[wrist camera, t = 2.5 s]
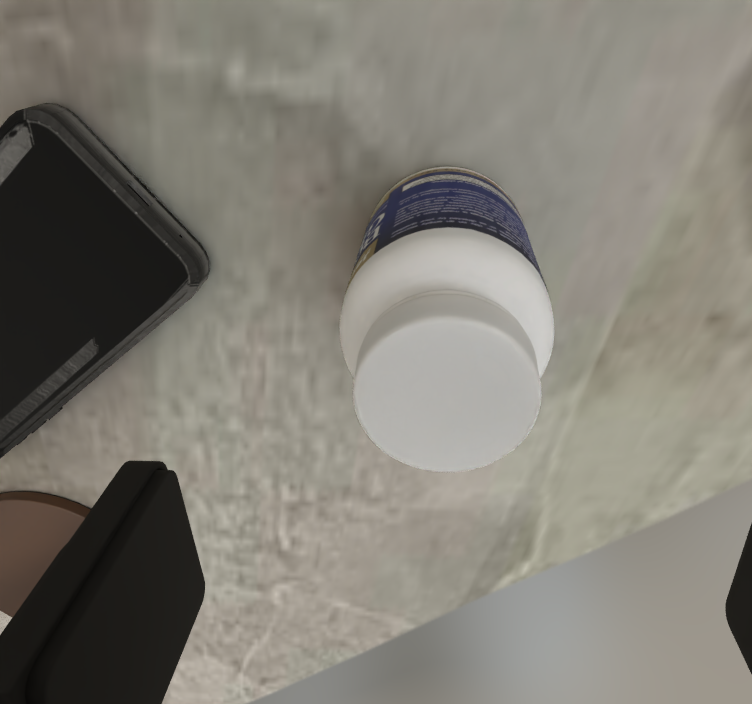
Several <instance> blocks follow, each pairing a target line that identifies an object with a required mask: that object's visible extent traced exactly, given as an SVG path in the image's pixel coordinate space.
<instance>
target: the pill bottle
mask: <svg viewBox="0 0 752 704" xmlns="http://www.w3.org/2000/svg"><path fill="white" fill-rule="evenodd" d="M339 334H340V343H341V348H342V353H343V356H344V359H345V362H346V364H347V367H348V369H349V371H350V373H351V375H352V377H353V378H354V381H353V393H352V395H353V404H354V409H355V412H356V416H357V418H358V420H359V423H360V425H361V427H362V428H363V430H364V431H365V433H366V434H367V436H368V437H369V438H370V439H371V441H372V442H373V443H374V444H375V445H376V446H377V447H378V448H379V449H381V450H382V451H383V452H385V453H386V454H387V455H389V456H390V457H392V458H394V459H396V460H397V461H399V462H401V463H404V464H406V465H409V466H412V467H415V468H418V469H423V470H426V471H434V472H461V471H468V470H473V469H477V468H480V467H483V466H487V465H489V464H491V463H493V462H495V461H497V460H499V459H501V458H503V457H504V456H506V455H508V454H509V453H510V452H512V451H513V450H514V449H516V448H517V447H518V446H519V445H520V444H521V443H522V442H523V440H524V439H525V438H526V437H527V436H528V434H529V433H530V431H531V430H532V428H533V426H534V424H535V422H536V419H537V417H538V414H539V411H540V406H541V398H542V389H541V381H540V378H541V376H542V375H543V373H544V371H545V369H546V367H547V364H548V362H549V360H550V356H551V353H552V349H553V342H554V317H553V312H552V306H551V302H550V298H549V295H548V291H547V287H546V284H545V282H544V280H543V277H542V274H541V272H540V269H539V266H538V264H537V261H536V258H535V255H534V253H533V250H532V247H531V244H530V241H529V238H528V235H527V232H526V229H525V227H524V224H523V221H522V219H521V216H520V214H519V212H518V210H517V208H516V206H515V205H514V203H513V202H512V200H511V199H510V197H509V196H508V195H507V193H506V192H505V191H504V190H503V189H502V188H501V187H500V186H499V185H497V184H496V183H495V182H494V181H492V180H491V179H489V178H487V177H486V176H484V175H482V174H480V173H478V172H475V171H472V170H469V169H465V168H459V167H436V168H430V169H426V170H422V171H420V172H417V173H415V174H412V175H410V176H408V177H406V178H405V179H403V180H401V181H400V182H399V183H397V184H396V185H395V186H393V187H392V188H391V189H390V190H389V191H388V192H387V193H386V194H385V195H384V196H383V198H382V199H381V200H380V202H379V203H378V205H377V206H376V208H375V210H374V212H373V214H372V216H371V218H370V220H369V223H368V226H367V228H366V231H365V235H364V238H363V241H362V244H361V247H360V249H359V253H358V256H357V259H356V262H355V265H354V268H353V271H352V274H351V278H350V281H349V283H348V286H347V290H346V293H345V297H344V300H343V304H342V310H341V315H340V324H339Z"/></svg>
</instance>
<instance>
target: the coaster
mask: <svg viewBox="0 0 752 704" xmlns="http://www.w3.org/2000/svg"><path fill="white" fill-rule="evenodd" d="M90 511H91V509H89V508H87V507H84V506H82V505H80V504H78V503H75V502H72V501H70V500H67V499H64V498H60V497H57V496H53V495H48V494H42V493H36V492H8V493H1V494H0V611H2V612H4V613H5V614H7V615H9V616H11V617H13V616H14V615H15V614H16V612H17V611H18V609H19V608H20V607H21V605H22V604H23V602H24V601H25V600H26V598H27V597H28V595H29V594H30V592H31V591H32V590H33V588H34V587H35V585H36V584H37V583H38V581H39V580H40V578H41V577H42V576H43V574H44V573H45V571H46V570H47V568H48V567H49V566H50V564H51V563H52V561H53V560H54V559H55V557H56V556H57V554H58V553H59V552H60V550H61V549H62V548H63V547H64V546H65V545H66V544H67V543H68V542H69V540H70V539H71V538H72V536H73V535H74V533H75V532H76V530H77V529H78V528H79V526H80V525H81V523H82V522H83V521H84V519H85V518H86V516H87V515H88V513H89V512H90Z"/></svg>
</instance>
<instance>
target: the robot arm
mask: <svg viewBox="0 0 752 704" xmlns="http://www.w3.org/2000/svg"><path fill="white" fill-rule="evenodd" d="M204 593H205V581H204V576H203V573H202V569H201V565H200V561H199V558H198V554H197V550H196V546H195V542H194V539H193V535H192V531H191V527H190V524H189V520H188V516H187V512H186V508H185V505H184V501H183V497H182V493H181V490H180V486H179V482H178V478H177V475H176V473H175V472H174V471H172V470H168V469H167V467H166V465H165V464H164V463H163V462H160V461H128V462H125V463H124V464H123V466H122V467H121V468H120V469H119V471H118V472H117V474H116V475H115V477H114V478H113V479H112V481H111V482H110V484H109V485H108V486H107V488H106V489H105V491H104V492H103V494H102V495H101V496H100V498H99V499H98V501H97V502H96V503H95V505H94V506H93V508H92V509H91V511H90V512H89V513H88V515H87V516H86V518H85V519H84V521H83V522H82V523H81V525H80V526H79V528H78V529H77V530H76V532H75V533H74V535H73V536H72V538H71V539H70V540H69V542H68V543H67V544H66V545H65V546H64V547H63V548H62V549H61V550H60V552H59V553H58V554H57V556H56V557H55V559H54V560H53V561H52V563H51V564H50V566H49V567H48V568H47V570H46V571H45V573H44V574H43V576H42V577H41V578H40V580H39V581H38V583H37V584H36V585H35V587H34V588H33V590H32V591H31V592H30V594H29V595H28V597H27V598H26V600H25V601H24V602H23V604H22V605H21V607H20V608H19V609H18V611H17V612H16V614H15V615H14V616H13V618H12V619H11V621H10V622H9V624H8V625H7V626H6V628H5V629H4V631H3V632H2V633H1V635H0V704H162V701H163V699H164V696H165V694H166V691H167V689H168V686H169V684H170V681H171V679H172V676H173V674H174V671H175V669H176V666H177V664H178V662H179V659H180V657H181V654H182V652H183V649H184V647H185V644H186V642H187V639H188V637H189V634H190V632H191V629H192V627H193V624H194V622H195V620H196V617H197V615H198V612H199V610H200V607H201V605H202V602H203V598H204ZM726 617H727V621H728V624H729V627H730V629H731V631H732V634H733V636H734V638H735V640H736V642H737V644H738V646H739V648H740V650H741V653H742V655H743V657H744V659H745V661H746V663H747V665H748V668H749V670H750V672H751V674H752V524H751V527H750V530H749V533H748V536H747V539H746V542H745V545H744V548H743V552H742V555H741V558H740V560H739V563H738V567H737V570H736V573H735V576H734V579H733V582H732V585H731V588H730V591H729V594H728V597H727V600H726Z"/></svg>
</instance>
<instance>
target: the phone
mask: <svg viewBox="0 0 752 704" xmlns="http://www.w3.org/2000/svg"><path fill="white" fill-rule="evenodd" d="M209 271H210V268H209V259H208V256H207V254H206V251H205V250H204V249H203V247H202V246H201V245H200V243H199V242H198V241H197V240H196V239H195V238H194V237H193V236H192V235H191V234H190V233H189V232H188V231H187V230H186V229H185V228H184V227H183V226H182V224H181V223H180V222H179V221H178V220H177V219H176V218H175V217H174V216H173V215H172V214H171V213H170V212H169V211H168V210H167V209H166V208H165V207H164V206H163V205H162V204H161V203H160V202H159V201H158V200H157V199H156V198H155V196H154V195H153V194H152V193H151V192H150V191H149V190H148V189H147V188H146V187H145V186H144V185H143V184H142V183H141V182H140V181H139V180H138V179H137V178H136V177H135V176H134V175H133V174H132V173H131V172H130V171H129V170H128V168H127V167H126V166H125V165H124V164H123V163H122V162H121V161H120V160H119V159H118V158H117V157H116V156H115V155H114V154H113V153H112V152H111V151H110V150H109V149H108V148H107V147H106V146H105V145H104V144H103V143H102V142H101V140H100V139H99V138H98V137H97V136H96V135H95V134H94V133H93V132H92V131H91V130H90V129H89V128H88V127H87V126H86V125H85V124H84V123H83V122H82V121H81V120H80V119H79V118H78V117H77V116H76V115H75V114H73V113H72V112H71V111H70V110H69V109H66V108H64V107H62V106H60V105H57V104H49V103H45V104H41V105H37V106H33V107H30V108H26V109H22V110H18V111H16V112H15V113H14V114H12V115H11V116H10V117H9V118H8V119H7V120H6V121H5V123H4V124H3V125H2V126H1V127H0V458H1V457H3V456H4V455H5V454H6V453H7V452H9V451H10V450H11V449H12V448H13V447H14V446H16V445H18V444H20V443H21V442H22V441H23V440H24V439H25V438H26V437H27V436H28V435H29V434H30V433H33V432H35V431H36V430H37V429H38V428H39V427H40V426H42V425H43V424H44V423H45V422H46V421H47V419H49V420H50V419H51V418H52V417H53V416H54V415H55V414H57V413H58V412H59V411H60V410H61V409H62V408H63V407H62V406H63V405H64V404H66V403H67V402H68V401H69V400H70V399H72V398H73V397H74V396H75V395H76V394H77V393H79V392H80V391H81V390H82V389H83V388H85V387H86V386H87V385H88V384H89V383H91V382H92V381H93V380H94V379H95V378H97V377H98V376H99V375H100V374H101V373H102V372H104V371H105V370H106V369H107V368H108V367H110V366H111V365H112V364H113V363H114V362H116V361H117V360H118V359H119V358H120V357H121V356H123V355H124V354H125V353H126V352H127V351H129V350H130V349H131V348H132V347H133V346H135V345H136V344H137V343H138V342H139V341H140V340H142V339H143V338H144V337H145V336H146V335H148V334H149V333H150V332H151V331H152V330H154V329H155V328H156V327H157V326H158V325H160V324H161V323H162V322H163V321H164V320H165V319H167V318H168V317H169V316H170V315H171V314H173V313H174V312H175V311H176V310H177V309H179V308H180V307H181V306H182V305H183V304H184V303H186V302H187V301H188V300H189V299H190V298H192V296H193V295H194V294H195V293H196V291H197V290H198V289H199V288H200V287H201V285H202V284H203V283H204V282H205V281H206V279H207V277H208V274H209Z"/></svg>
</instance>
